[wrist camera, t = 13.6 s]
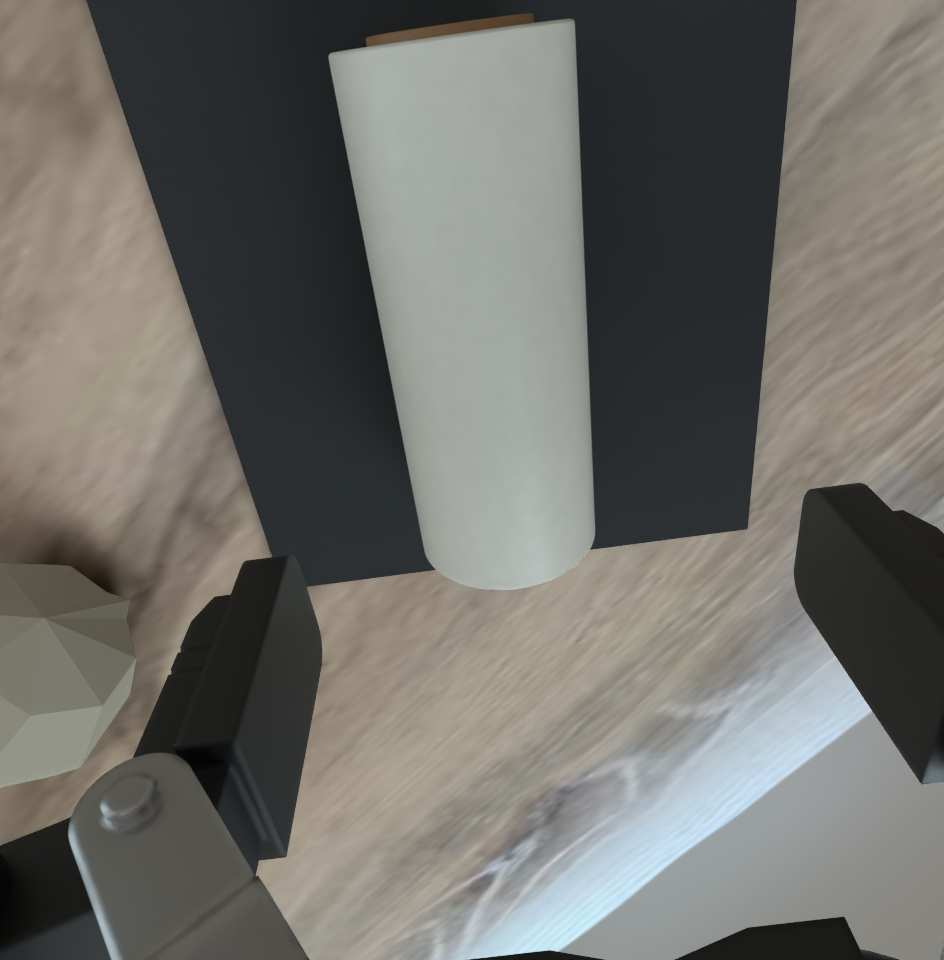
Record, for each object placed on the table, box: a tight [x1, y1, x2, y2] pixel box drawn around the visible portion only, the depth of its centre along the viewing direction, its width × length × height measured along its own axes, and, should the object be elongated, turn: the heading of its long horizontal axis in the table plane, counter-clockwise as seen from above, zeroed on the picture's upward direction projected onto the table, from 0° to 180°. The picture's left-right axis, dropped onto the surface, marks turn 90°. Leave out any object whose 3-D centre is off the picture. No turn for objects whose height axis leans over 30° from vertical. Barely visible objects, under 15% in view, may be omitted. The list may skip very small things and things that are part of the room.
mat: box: [86, 0, 797, 587], centre depth 23 cm, size 20×18×1 cm
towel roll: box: [328, 13, 595, 590], centre depth 20 cm, size 6×14×6 cm, turn 7°
